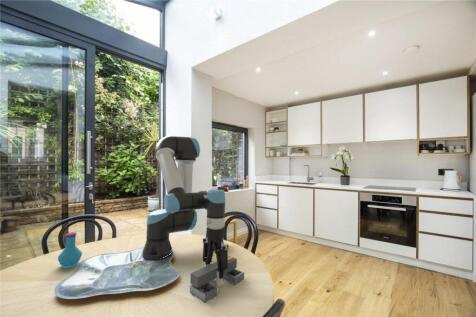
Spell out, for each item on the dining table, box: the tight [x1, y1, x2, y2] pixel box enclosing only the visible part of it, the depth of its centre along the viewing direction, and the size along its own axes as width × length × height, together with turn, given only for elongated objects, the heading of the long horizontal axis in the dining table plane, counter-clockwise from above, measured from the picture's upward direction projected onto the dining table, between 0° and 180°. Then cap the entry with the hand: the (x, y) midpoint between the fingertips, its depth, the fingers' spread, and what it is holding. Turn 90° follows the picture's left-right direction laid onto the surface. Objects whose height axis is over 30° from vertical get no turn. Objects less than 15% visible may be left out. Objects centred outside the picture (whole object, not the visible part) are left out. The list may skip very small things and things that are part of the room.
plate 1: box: [189, 282, 218, 304], centre depth 84 cm, size 9×6×3 cm, turn 48°
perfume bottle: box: [57, 231, 83, 269], centre depth 105 cm, size 9×9×15 cm
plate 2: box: [223, 268, 245, 286], centre depth 96 cm, size 9×6×3 cm, turn 48°
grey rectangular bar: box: [189, 255, 238, 292], centre depth 91 cm, size 4×22×8 cm, turn 138°
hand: (214, 282), depth 92 cm, fingers open, 6 cm apart
